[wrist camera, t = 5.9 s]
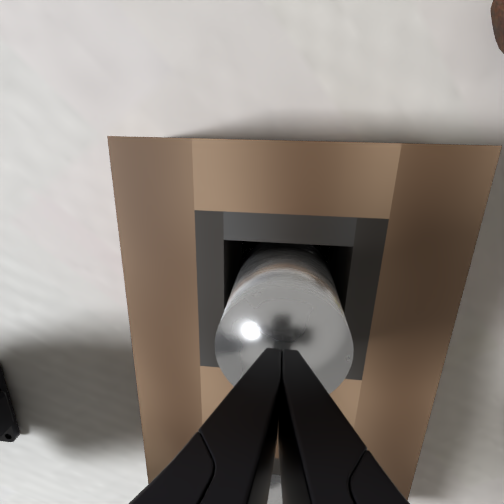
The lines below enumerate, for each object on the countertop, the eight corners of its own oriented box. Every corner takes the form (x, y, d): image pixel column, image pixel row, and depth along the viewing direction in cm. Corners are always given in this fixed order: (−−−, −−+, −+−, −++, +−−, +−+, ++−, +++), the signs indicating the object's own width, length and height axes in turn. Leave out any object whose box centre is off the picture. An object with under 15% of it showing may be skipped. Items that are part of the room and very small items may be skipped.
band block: (185, 472, 22) (157, 560, 18) (163, 138, 15) (107, 136, 10) (361, 494, 21) (382, 594, 16) (429, 144, 14) (502, 145, 9)
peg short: (238, 316, 14) (215, 399, 10) (239, 234, 13) (213, 284, 8) (325, 323, 14) (344, 412, 9) (335, 239, 13) (362, 294, 8)
